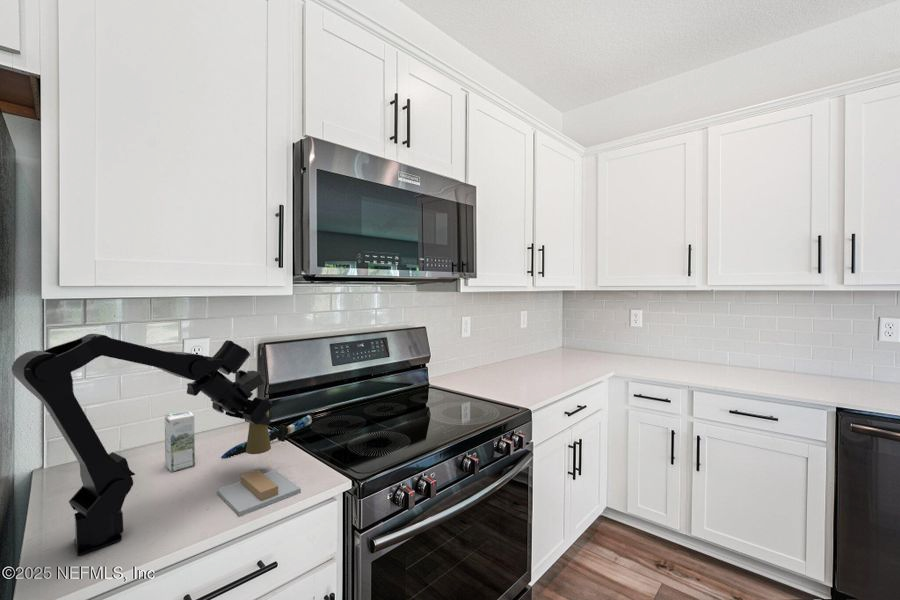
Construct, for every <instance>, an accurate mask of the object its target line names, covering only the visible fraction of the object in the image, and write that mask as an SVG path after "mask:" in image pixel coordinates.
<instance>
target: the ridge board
mask: <svg viewBox="0 0 900 600" xmlns="http://www.w3.org/2000/svg"><path fill="white" fill-rule="evenodd" d="M301 492H302V489H301V487H300V486H299V485H297V484H296V483H294V482H293V481H291V480H290V479H289V478H288V477H286V476H285V475H283V474H282V473H280V472H279V471H278V470H276V469H273V470H271V471H268V472H265V473H262V472H261V471H259V470H258V469H255V470H253V471H250V472H246V473H243V474H241V475H240V480H239V481H238V482H234V483H231V484H229V485H226V486H223V487H219V488H217V489H216V494H217V493H218V494H219V495H220V496H221V497H222V498H223V499H224V500H225V501H226V502H227V503H226V502H225V501H224V500H223V499H222V498H221V497H220V496H219V495H218V494H217V495H218V496H219V497H220V498H221V499H222V500H223V501H224V502H225V503H226V504H227V506H228V507H230V509H231V508H232V509H233V510H234V511H235V512H234V511H233V510H232V509H231V510H232V511H233V512H234V513H235V514H236V515H237V516H238V517H242V516H244V515H247V514H250V513H252V512H254V511H256V510H257V511H258V510H260V509H263V508H266V507H267V506H269V505H272V504H274V503H277V502H279V501H283V500H285V499H288V498H289V497H293V496H295V495H298V494H299V493H301Z"/></svg>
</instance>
